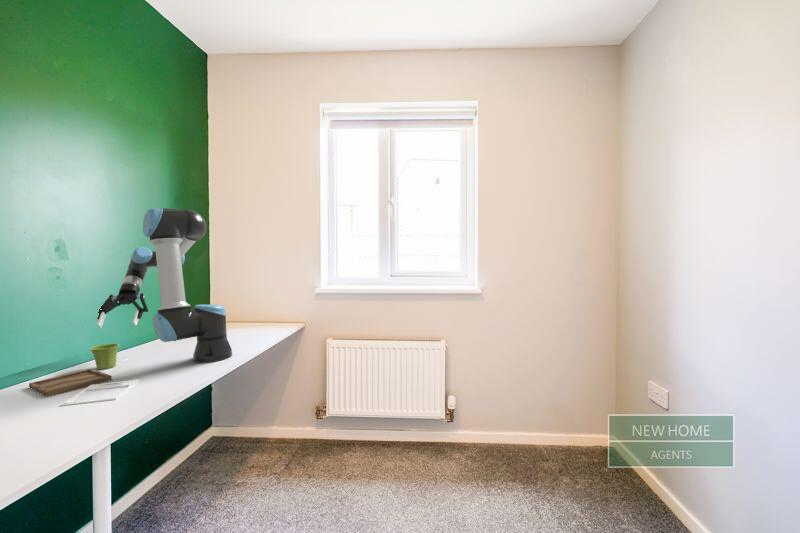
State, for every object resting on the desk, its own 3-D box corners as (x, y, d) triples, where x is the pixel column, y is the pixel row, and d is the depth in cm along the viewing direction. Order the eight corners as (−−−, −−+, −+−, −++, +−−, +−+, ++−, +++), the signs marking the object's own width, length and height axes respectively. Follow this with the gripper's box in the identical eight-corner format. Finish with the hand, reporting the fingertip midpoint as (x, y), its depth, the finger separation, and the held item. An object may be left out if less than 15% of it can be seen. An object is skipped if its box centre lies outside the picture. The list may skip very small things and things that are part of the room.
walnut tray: (111, 380, 139) (111, 375, 139) (47, 397, 124) (46, 392, 124) (91, 372, 148) (91, 368, 148) (29, 387, 133) (28, 383, 133)
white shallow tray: (138, 379, 137) (115, 397, 120) (138, 382, 137) (116, 401, 120) (91, 384, 133) (60, 404, 116) (91, 387, 133) (60, 407, 116)
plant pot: (85, 370, 152) (84, 348, 152) (109, 363, 161) (108, 343, 161) (102, 371, 149) (101, 350, 149) (126, 364, 158) (124, 344, 158)
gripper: (162, 291, 184) (151, 327, 170) (103, 293, 179) (87, 332, 165) (157, 281, 179) (146, 318, 165) (96, 283, 173) (79, 322, 159)
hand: (116, 325), depth 165 cm, fingers open, 13 cm apart
